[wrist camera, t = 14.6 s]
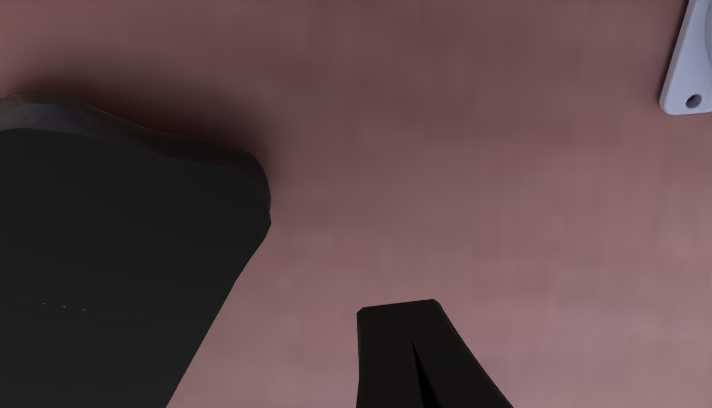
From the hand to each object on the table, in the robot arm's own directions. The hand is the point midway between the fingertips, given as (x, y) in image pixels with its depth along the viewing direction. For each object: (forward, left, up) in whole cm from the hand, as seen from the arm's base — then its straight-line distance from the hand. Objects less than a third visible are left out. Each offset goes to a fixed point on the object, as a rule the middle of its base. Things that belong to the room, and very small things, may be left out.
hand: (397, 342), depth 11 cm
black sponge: (+9, +7, -11) cm, 16 cm away
